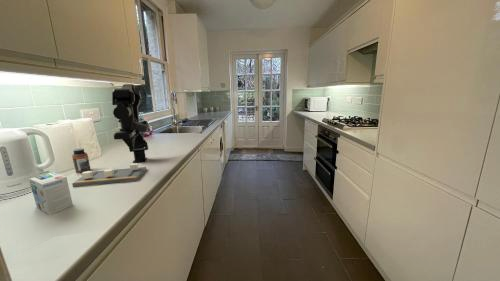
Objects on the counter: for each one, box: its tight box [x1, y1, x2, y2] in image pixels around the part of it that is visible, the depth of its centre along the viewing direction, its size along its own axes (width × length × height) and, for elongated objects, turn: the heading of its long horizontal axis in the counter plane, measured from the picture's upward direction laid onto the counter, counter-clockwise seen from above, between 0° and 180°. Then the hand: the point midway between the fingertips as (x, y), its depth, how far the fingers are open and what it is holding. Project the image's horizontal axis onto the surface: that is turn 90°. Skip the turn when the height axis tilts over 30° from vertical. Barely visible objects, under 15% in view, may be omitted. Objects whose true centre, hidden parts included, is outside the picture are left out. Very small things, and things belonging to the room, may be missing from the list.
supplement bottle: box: [71, 148, 91, 173], centre depth 102 cm, size 6×6×11 cm
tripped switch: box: [129, 162, 140, 170], centre depth 99 cm, size 2×3×3 cm, turn 101°
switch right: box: [81, 170, 93, 179], centre depth 90 cm, size 2×3×3 cm, turn 101°
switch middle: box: [104, 168, 114, 177], centre depth 91 cm, size 2×3×3 cm, turn 101°
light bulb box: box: [28, 171, 74, 215], centre depth 70 cm, size 11×7×11 cm, turn 62°
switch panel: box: [71, 166, 147, 188], centre depth 95 cm, size 14×25×2 cm, turn 101°
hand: (132, 149), depth 98 cm, fingers closed
